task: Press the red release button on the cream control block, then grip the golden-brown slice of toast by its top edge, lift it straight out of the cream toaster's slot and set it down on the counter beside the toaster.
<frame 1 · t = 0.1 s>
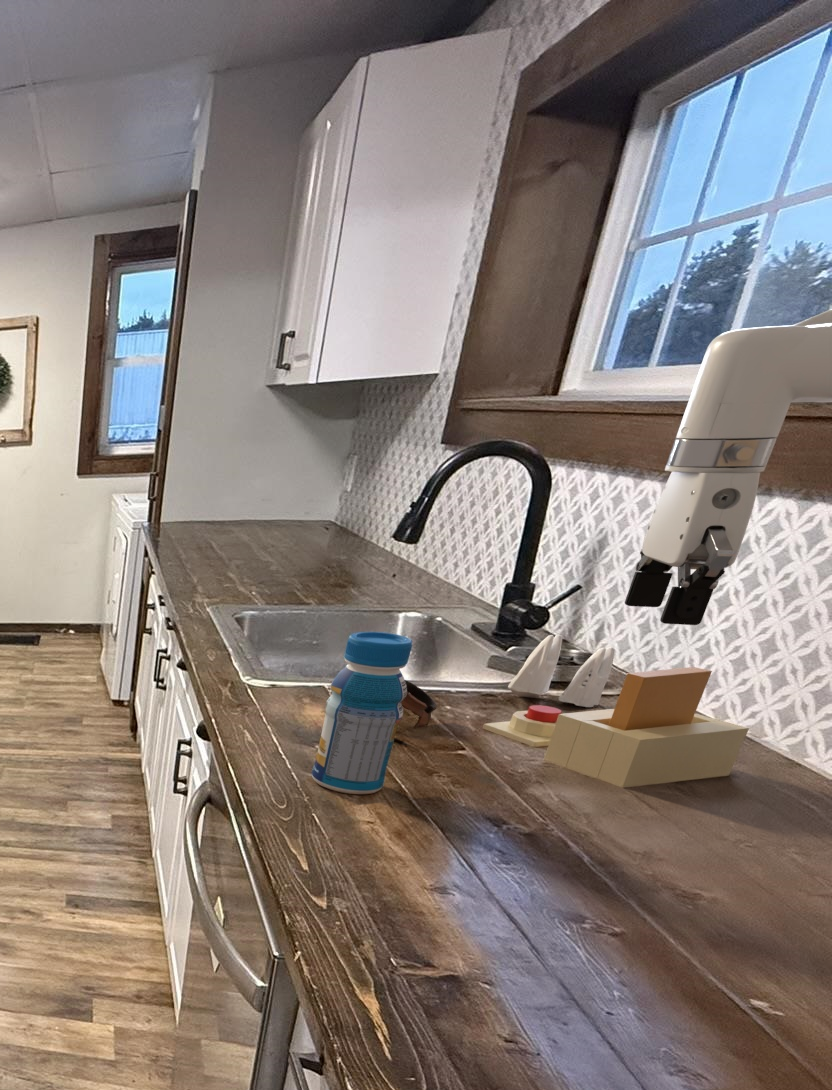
hand: (659, 614, 95), 23 cm above the worktop, tool pointing down, fingers open, 9 cm apart
button block: (534, 743, 120), on the worktop
shaker set: (550, 702, 137), on the worktop
toast: (633, 767, 108), point 1 cm above the worktop, touching toaster
pop button: (543, 714, 119), point 4 cm above the worktop, slide at 0.1 cm
toaster: (629, 777, 109), on the worktop
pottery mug: (383, 726, 130), on the worktop
beverage bottle: (345, 784, 110), on the worktop
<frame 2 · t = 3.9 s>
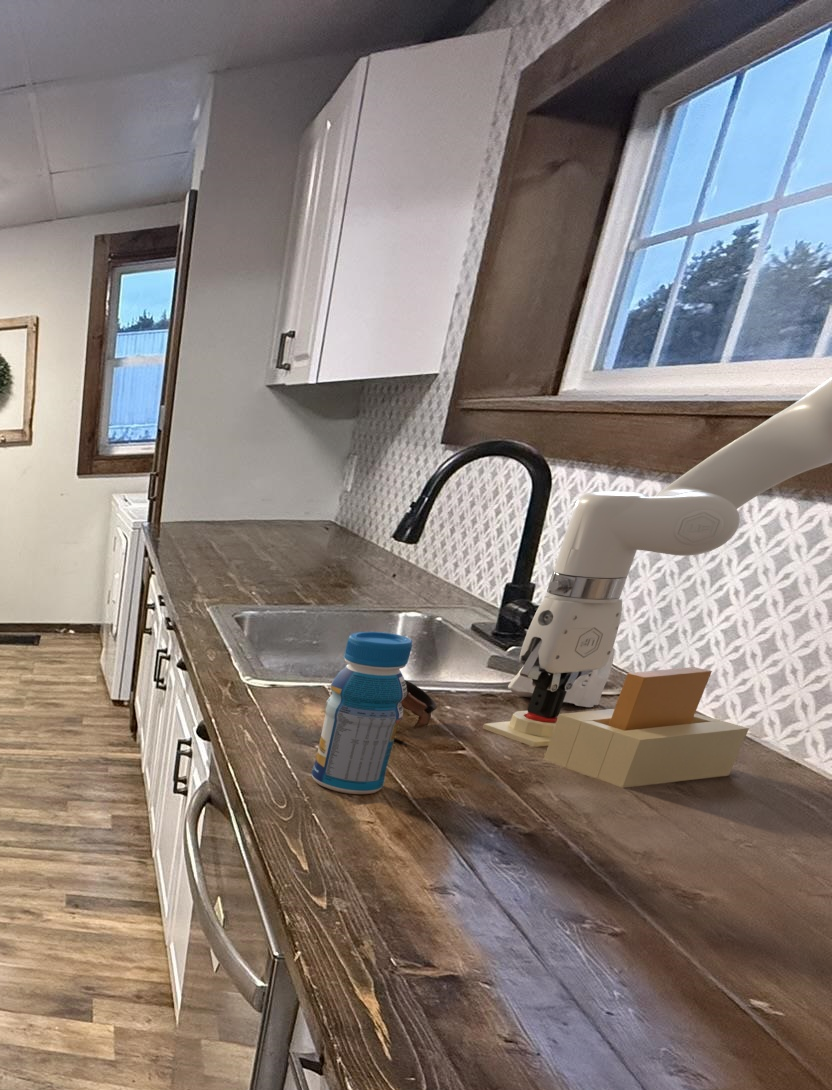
hand: (542, 714, 119), 5 cm above the worktop, tool pointing down, fingers closed
pop button: (541, 720, 119), point 4 cm above the worktop, slide at -0.8 cm, touching gripper
everything else where it was.
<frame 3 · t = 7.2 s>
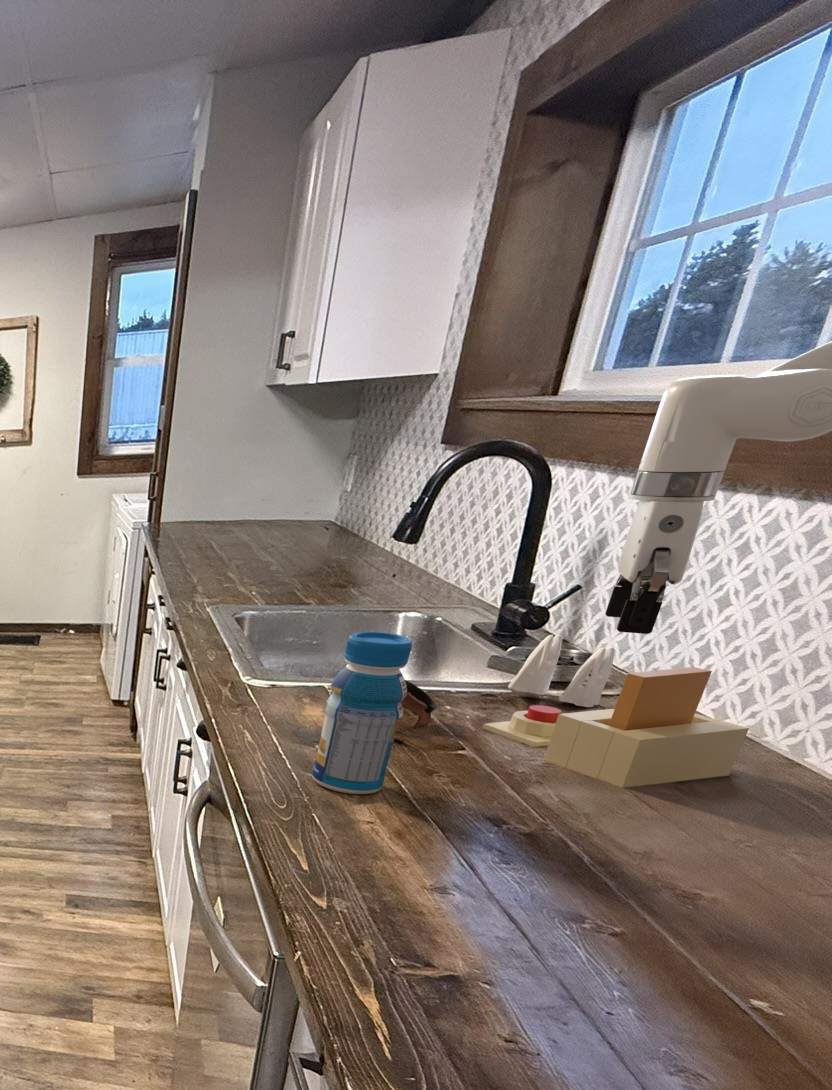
hand: (626, 624, 107), 19 cm above the worktop, tool pointing down, fingers open, 9 cm apart
pop button: (543, 714, 119), point 4 cm above the worktop, slide at 0.1 cm
everything else where it was.
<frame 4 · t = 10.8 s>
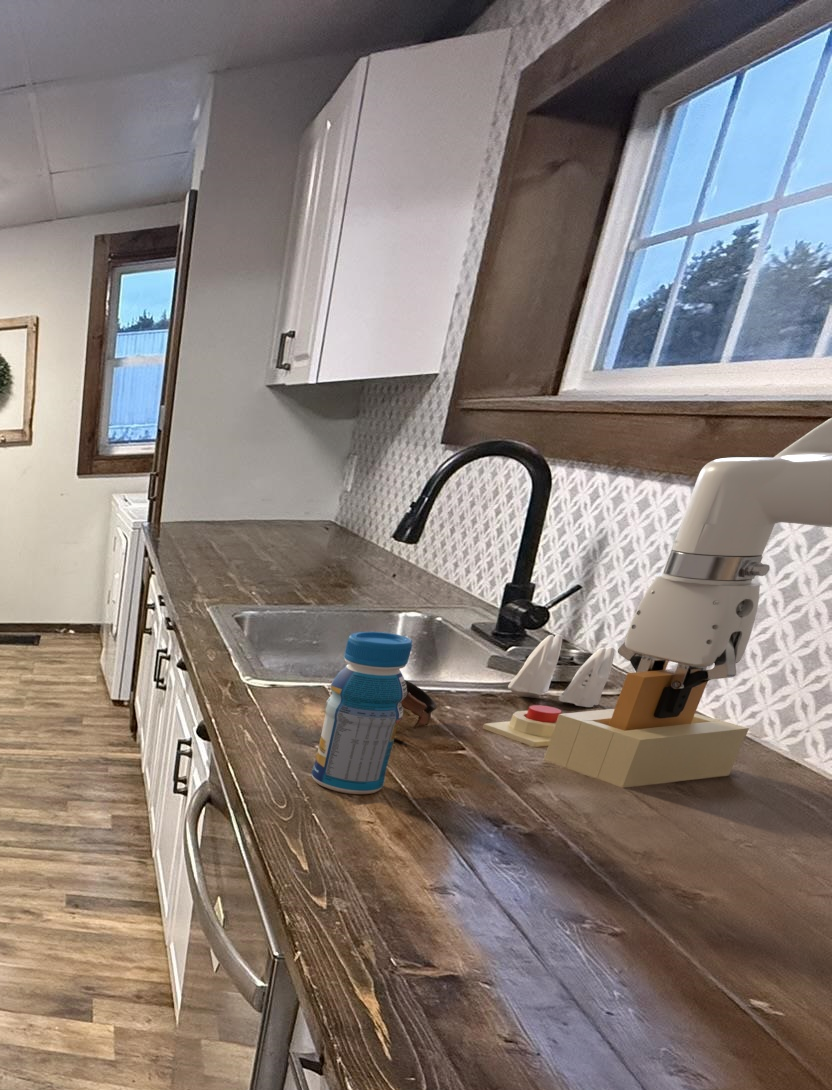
hand: (654, 712, 105), 9 cm above the worktop, tool pointing down, fingers closed on toast, 2 cm apart
toast: (633, 767, 108), point 2 cm above the worktop, touching gripper
everything else where it was.
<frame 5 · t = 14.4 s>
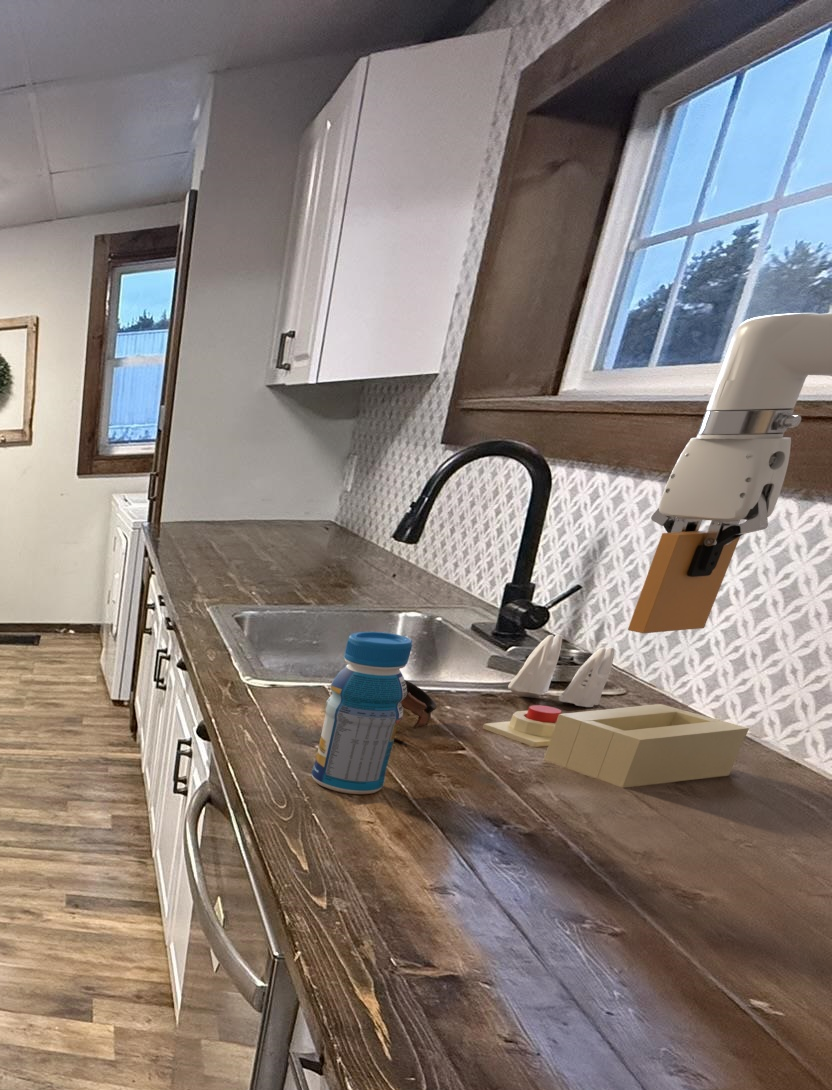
hand: (686, 573, 110), 24 cm above the worktop, tool pointing down, fingers closed on toast
toast: (665, 629, 113), point 17 cm above the worktop, touching gripper
everything else where it was.
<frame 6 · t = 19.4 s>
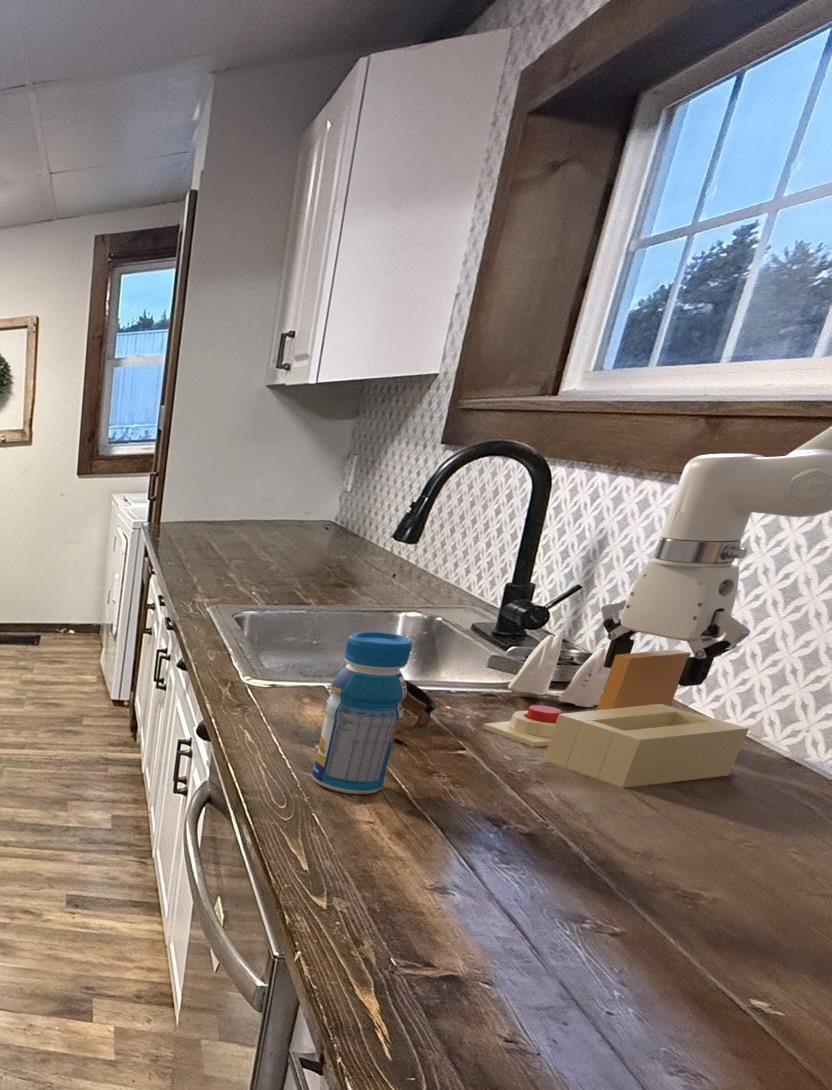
hand: (650, 675, 116), 10 cm above the worktop, tool pointing down, fingers open, 9 cm apart
toast: (621, 739, 121), on the worktop
everything else where it was.
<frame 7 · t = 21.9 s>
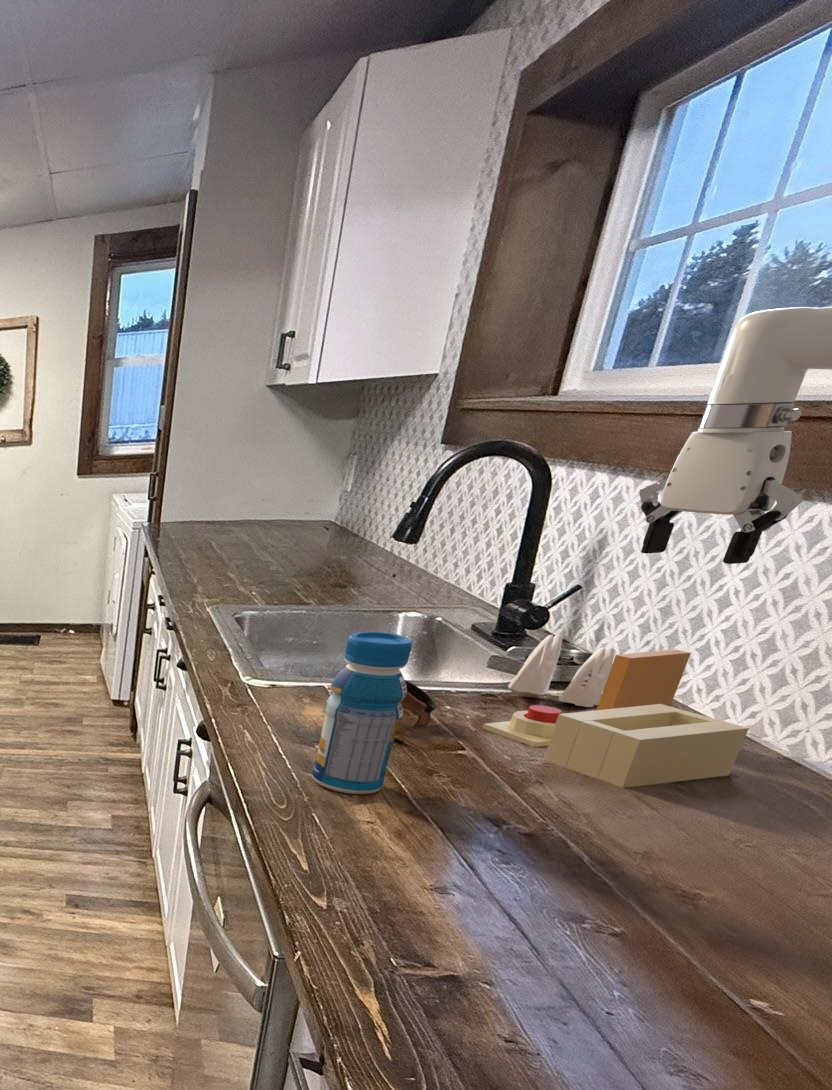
hand: (691, 557, 110), 26 cm above the worktop, tool pointing down, fingers open, 9 cm apart
nothing on the worktop moved.
at the end: pop button pushed in 1.1 cm at the most during the clip, back to where it started at the end; toast inside the target area (1.2 cm from its centre), on the worktop; the gripper is holding nothing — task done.
